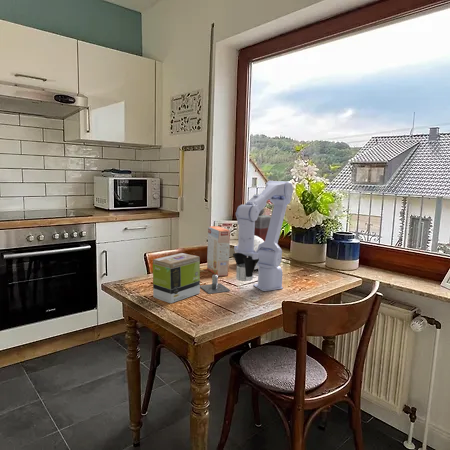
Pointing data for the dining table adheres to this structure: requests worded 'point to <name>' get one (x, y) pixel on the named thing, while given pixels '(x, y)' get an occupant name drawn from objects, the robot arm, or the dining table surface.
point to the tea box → (176, 277)
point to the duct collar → (242, 273)
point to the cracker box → (218, 250)
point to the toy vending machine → (262, 225)
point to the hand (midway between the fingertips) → (244, 274)
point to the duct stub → (214, 286)
